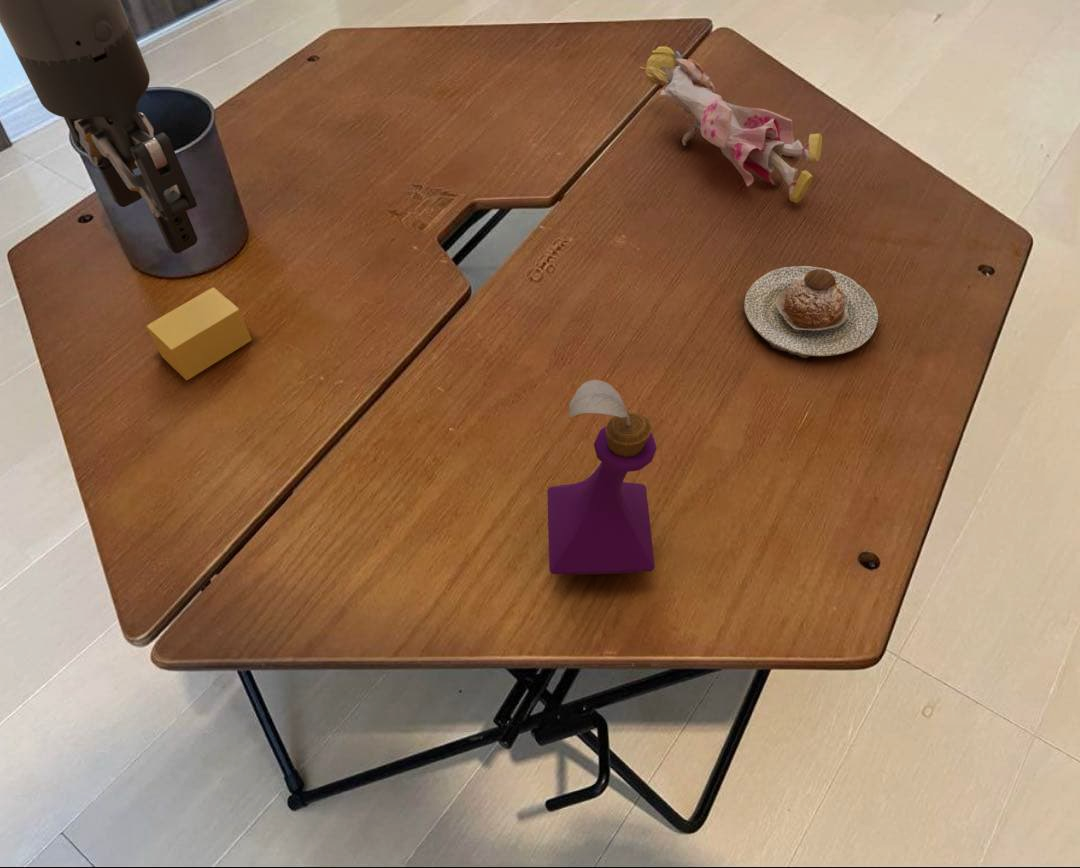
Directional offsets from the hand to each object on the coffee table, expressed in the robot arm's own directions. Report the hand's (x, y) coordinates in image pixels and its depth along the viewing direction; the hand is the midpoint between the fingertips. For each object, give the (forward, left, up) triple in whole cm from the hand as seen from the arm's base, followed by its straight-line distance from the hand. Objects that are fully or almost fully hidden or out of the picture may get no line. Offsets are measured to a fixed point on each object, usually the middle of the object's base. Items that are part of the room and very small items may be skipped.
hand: (157, 223), depth 73 cm
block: (-1, 0, -14) cm, 14 cm away
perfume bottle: (+8, -41, -14) cm, 44 cm away
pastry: (+41, -38, -14) cm, 57 cm away
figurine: (+54, -16, -14) cm, 59 cm away
